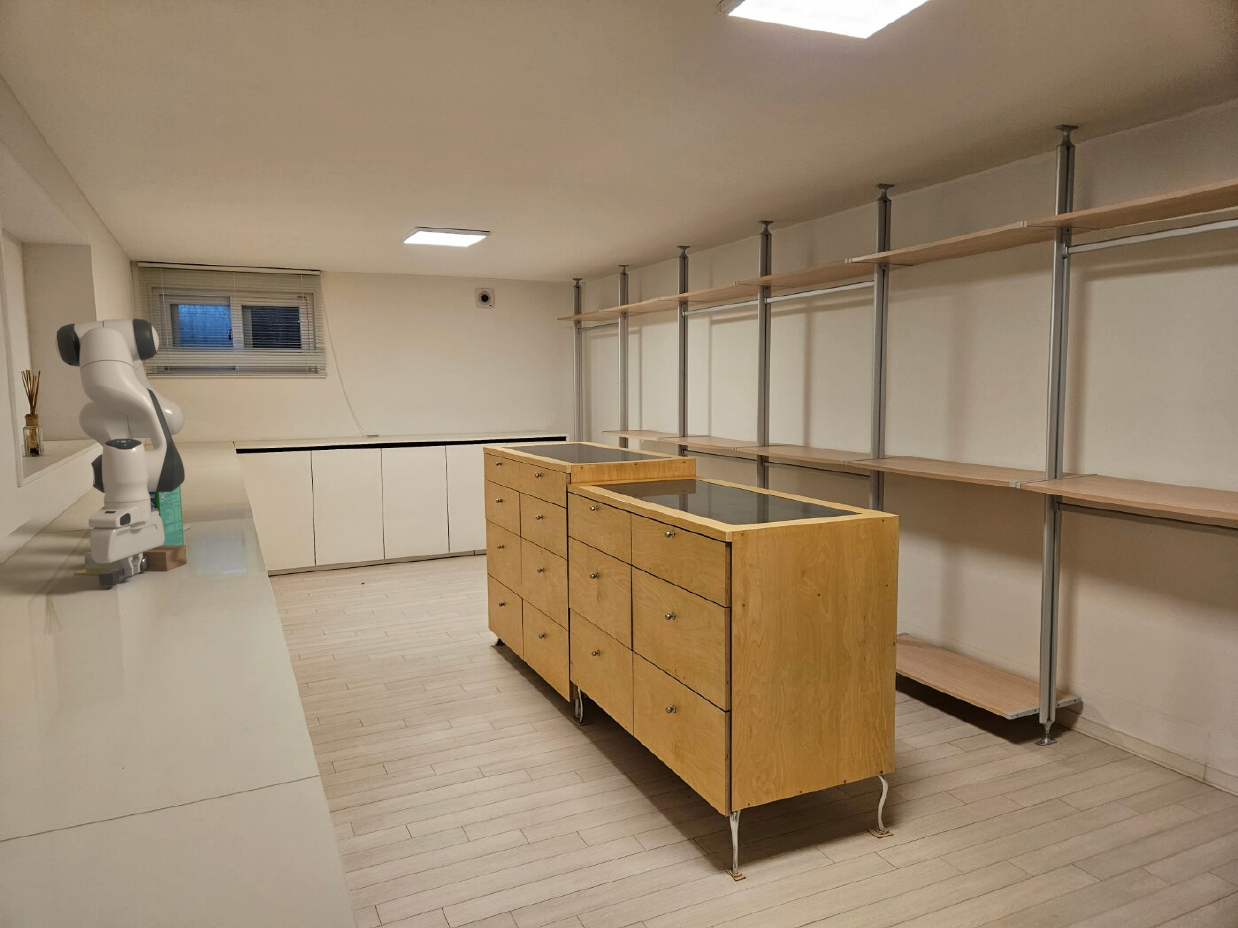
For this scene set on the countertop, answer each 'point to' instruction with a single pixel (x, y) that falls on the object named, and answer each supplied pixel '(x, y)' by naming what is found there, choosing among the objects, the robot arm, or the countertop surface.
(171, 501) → the milk carton
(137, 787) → the countertop surface
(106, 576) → the swing bar
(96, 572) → the strike pad
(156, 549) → the door edge
